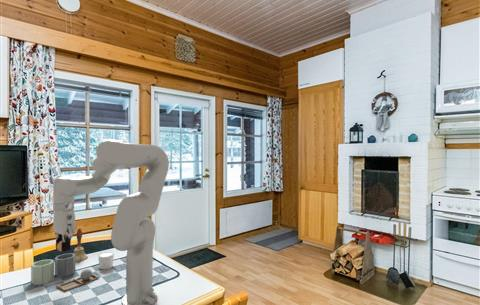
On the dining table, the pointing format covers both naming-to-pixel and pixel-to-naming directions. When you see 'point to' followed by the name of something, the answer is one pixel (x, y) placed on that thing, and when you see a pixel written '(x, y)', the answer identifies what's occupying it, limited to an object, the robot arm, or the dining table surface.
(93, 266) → the dining table surface
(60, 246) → the terracotta ball
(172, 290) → the dining table surface
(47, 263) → the green ribbed pot
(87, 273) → the grey ball
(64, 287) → the holder
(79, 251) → the hand bell
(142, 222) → the robot arm
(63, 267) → the grey ribbed bin
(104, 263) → the white cylinder
